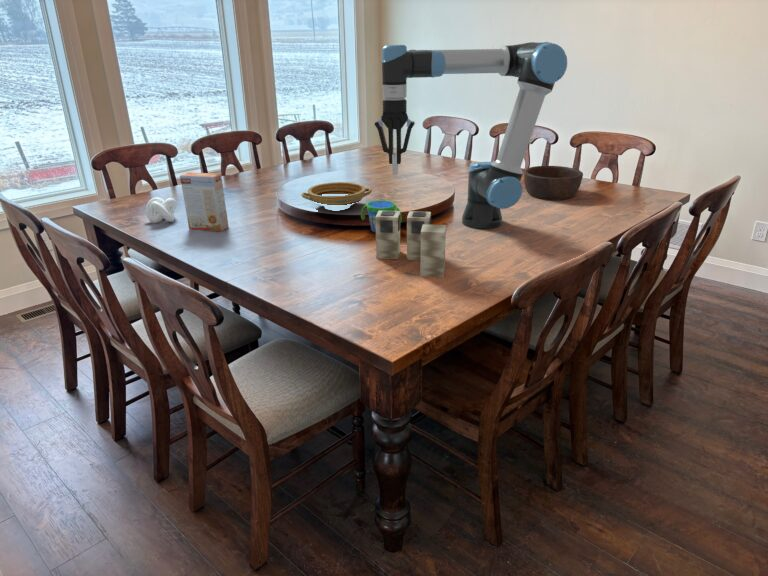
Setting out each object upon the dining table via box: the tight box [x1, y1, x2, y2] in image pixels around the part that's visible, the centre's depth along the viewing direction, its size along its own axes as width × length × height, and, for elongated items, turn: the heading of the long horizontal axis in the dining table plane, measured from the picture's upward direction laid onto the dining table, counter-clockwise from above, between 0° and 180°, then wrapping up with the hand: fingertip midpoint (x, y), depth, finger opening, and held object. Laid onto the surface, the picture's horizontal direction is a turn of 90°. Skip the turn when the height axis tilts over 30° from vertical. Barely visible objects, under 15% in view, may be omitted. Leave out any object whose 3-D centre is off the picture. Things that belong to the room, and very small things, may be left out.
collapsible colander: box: [300, 181, 372, 205], centre depth 232 cm, size 30×24×8 cm
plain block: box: [419, 224, 447, 278], centre depth 166 cm, size 7×7×14 cm
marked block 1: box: [406, 210, 432, 261], centre depth 178 cm, size 7×7×14 cm
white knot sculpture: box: [145, 197, 178, 224], centre depth 219 cm, size 11×12×9 cm
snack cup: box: [360, 199, 403, 233], centre depth 203 cm, size 16×10×10 cm
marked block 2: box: [375, 210, 401, 260], centre depth 180 cm, size 7×7×14 cm
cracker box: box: [179, 172, 229, 232], centre depth 207 cm, size 14×6×21 cm, turn 74°
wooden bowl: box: [523, 165, 584, 201], centre depth 245 cm, size 25×25×10 cm
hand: (395, 173), depth 182 cm, fingers closed
